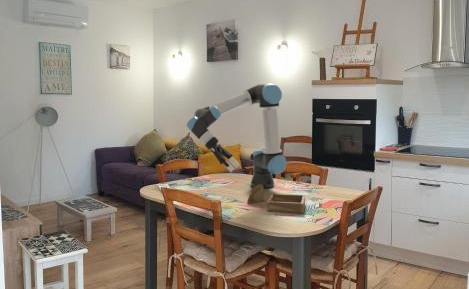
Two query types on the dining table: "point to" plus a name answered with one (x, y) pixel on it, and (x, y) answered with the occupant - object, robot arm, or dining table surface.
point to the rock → (256, 194)
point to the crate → (286, 203)
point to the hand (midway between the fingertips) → (235, 168)
